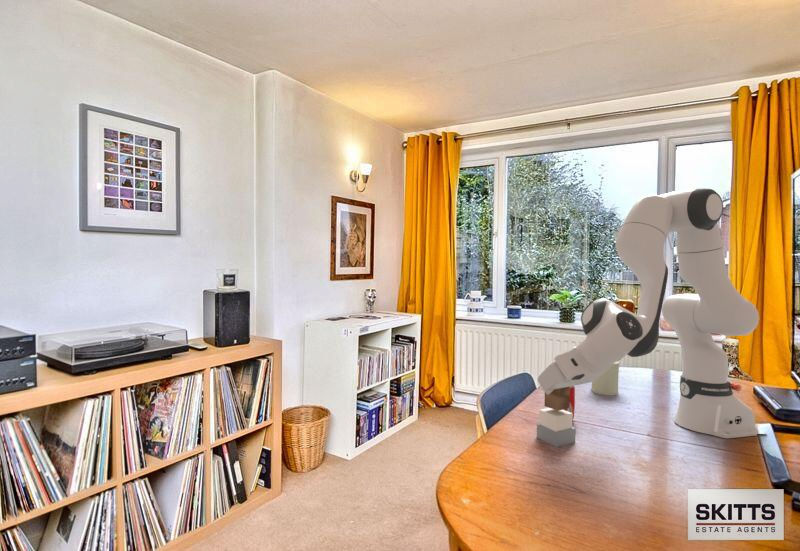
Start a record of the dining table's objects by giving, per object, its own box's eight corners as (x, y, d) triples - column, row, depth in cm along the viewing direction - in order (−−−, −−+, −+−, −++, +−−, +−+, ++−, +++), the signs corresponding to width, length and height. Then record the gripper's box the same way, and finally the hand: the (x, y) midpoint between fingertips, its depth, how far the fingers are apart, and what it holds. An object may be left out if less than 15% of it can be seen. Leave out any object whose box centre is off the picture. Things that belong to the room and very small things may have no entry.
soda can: (576, 424, 131) (577, 384, 131) (551, 422, 133) (552, 382, 132) (571, 416, 138) (573, 378, 138) (548, 414, 140) (549, 376, 139)
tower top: (554, 420, 124) (555, 406, 124) (572, 428, 118) (572, 413, 118) (539, 424, 121) (539, 409, 121) (555, 431, 116) (556, 416, 116)
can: (608, 396, 158) (609, 363, 158) (585, 389, 166) (586, 358, 166) (623, 393, 163) (624, 360, 162) (601, 386, 171) (602, 355, 170)
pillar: (555, 403, 123) (556, 374, 122) (569, 408, 119) (570, 378, 118) (544, 405, 121) (545, 376, 120) (557, 410, 117) (558, 380, 116)
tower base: (554, 433, 125) (555, 419, 125) (575, 442, 119) (575, 428, 118) (536, 438, 121) (537, 423, 121) (556, 447, 115) (557, 432, 115)
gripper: (605, 348, 118) (574, 375, 127) (552, 355, 108) (522, 384, 117) (620, 368, 114) (587, 395, 123) (567, 378, 104) (534, 406, 113)
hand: (555, 390), depth 120 cm, fingers closed on pillar, 4 cm apart
